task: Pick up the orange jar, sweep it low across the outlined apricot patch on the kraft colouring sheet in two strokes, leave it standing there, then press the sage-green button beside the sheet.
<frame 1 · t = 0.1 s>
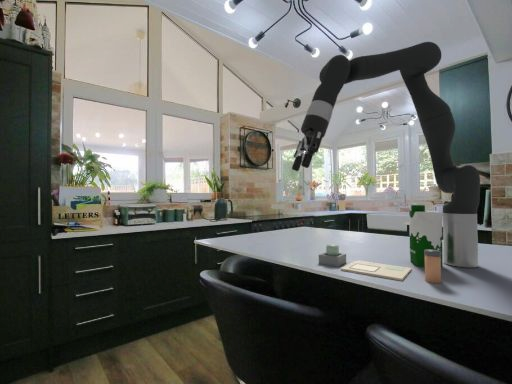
hand: (299, 168, 80), 31 cm above the kitchen island, tool tilted 20°, fingers open, 8 cm apart
milk carton: (426, 265, 90), on the kitchen island
sheet: (376, 270, 83), on the kitchen island
done button: (332, 251, 93), point 4 cm above the kitchen island, slide at 0.0 cm
orange jar: (433, 281, 72), on the kitchen island
button base: (332, 262, 92), on the kitchen island
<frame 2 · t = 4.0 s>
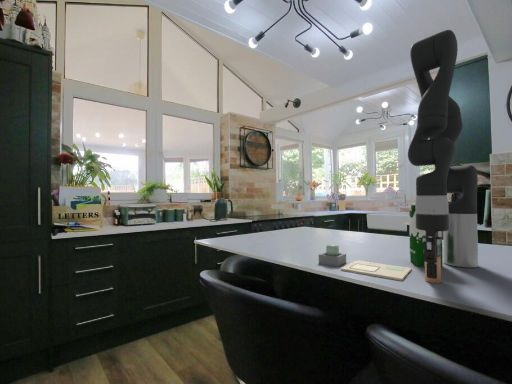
hand: (432, 275, 72), 1 cm above the kitchen island, tool pointing down, fingers closed on orange jar, 3 cm apart
orange jar: (432, 281, 72), on the kitchen island, touching gripper
everything else where it was.
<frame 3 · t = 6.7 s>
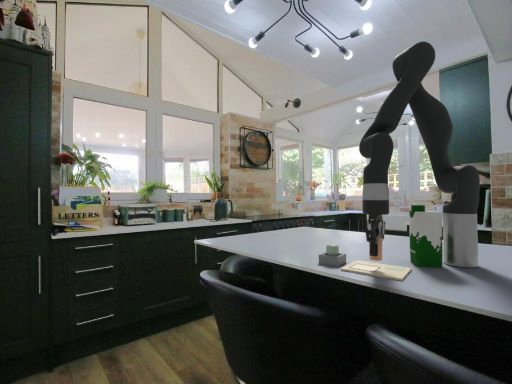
hand: (375, 254, 81), 5 cm above the kitchen island, tool pointing down, fingers closed on orange jar, 3 cm apart
orange jar: (375, 259, 81), point 4 cm above the kitchen island, touching gripper
everything else where it was.
when the fingers open (3 cm above the kitchen island, at t = 9.9 s): orange jar stays where it is, resting on sheet.
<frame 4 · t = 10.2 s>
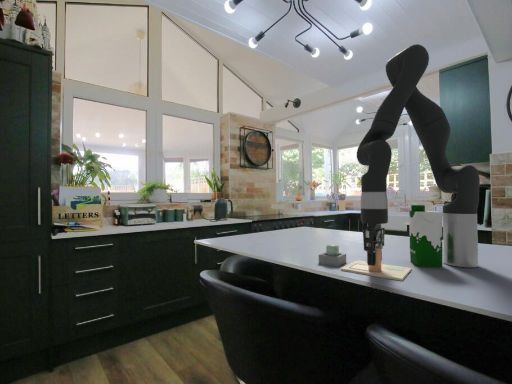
hand: (374, 262, 80), 3 cm above the kitchen island, tool pointing down, fingers open, 6 cm apart
orange jar: (374, 270, 80), point 1 cm above the kitchen island, touching sheet
everything else where it was.
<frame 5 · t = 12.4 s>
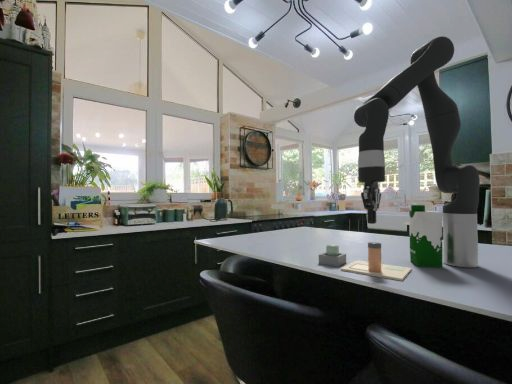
hand: (371, 223, 81), 15 cm above the kitchen island, tool pointing down, fingers closed
nothing on the kitchen island moved.
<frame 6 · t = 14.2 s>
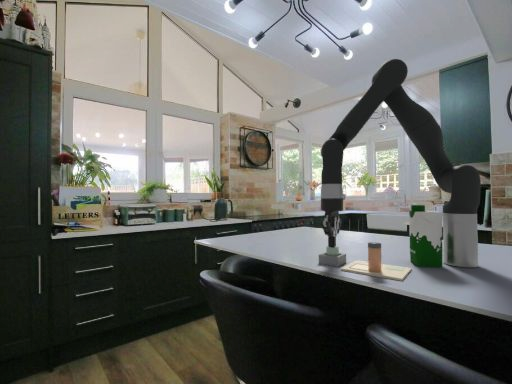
hand: (332, 246, 93), 6 cm above the kitchen island, tool pointing down, fingers closed
done button: (332, 252, 93), point 3 cm above the kitchen island, slide at 0.5 cm, touching gripper
everything else where it was.
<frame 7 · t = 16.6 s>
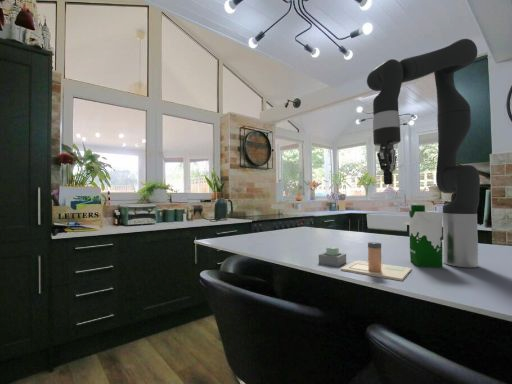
hand: (388, 184, 82), 27 cm above the kitchen island, tool pointing down, fingers closed
done button: (332, 253, 93), point 3 cm above the kitchen island, slide at 0.9 cm
everything else where it was.
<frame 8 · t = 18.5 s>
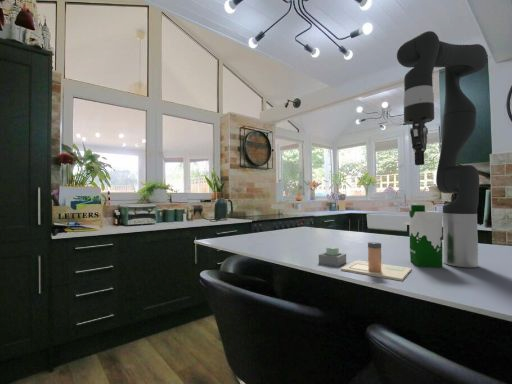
hand: (419, 165, 77), 32 cm above the kitchen island, tool pointing down, fingers closed
nothing on the kitchen island moved.
at the end: done button slide at 0.9 cm; orange jar inside the target area on the sheet (4.0 cm from its centre), point 0.7 cm above the sheet's base; orange jar tilted 0° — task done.
